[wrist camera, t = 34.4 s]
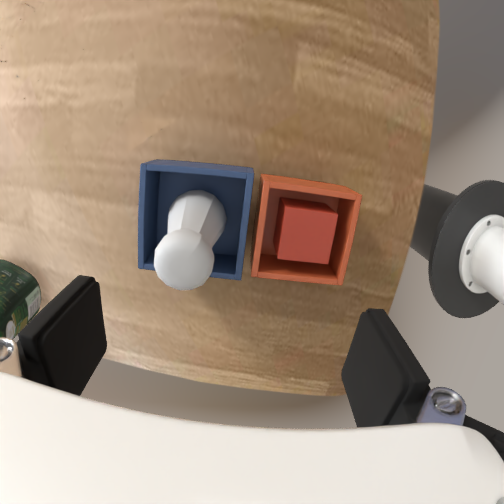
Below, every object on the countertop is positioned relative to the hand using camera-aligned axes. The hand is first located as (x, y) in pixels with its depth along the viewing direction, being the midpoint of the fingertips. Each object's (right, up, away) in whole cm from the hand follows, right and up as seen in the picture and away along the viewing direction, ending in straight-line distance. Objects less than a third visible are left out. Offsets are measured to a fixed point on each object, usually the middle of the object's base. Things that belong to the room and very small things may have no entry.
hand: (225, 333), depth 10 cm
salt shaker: (-5, +7, +23) cm, 24 cm away
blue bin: (-5, +7, +23) cm, 24 cm away
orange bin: (+6, +6, +24) cm, 25 cm away
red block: (+6, +6, +23) cm, 25 cm away
